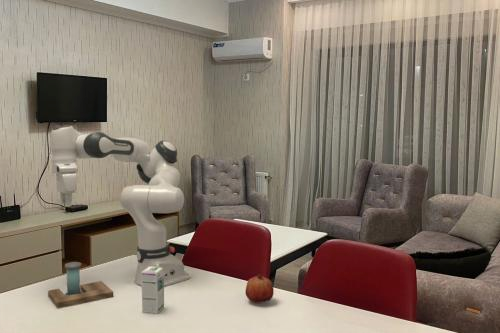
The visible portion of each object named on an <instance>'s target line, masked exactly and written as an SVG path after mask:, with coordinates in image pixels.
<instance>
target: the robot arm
mask: <svg viewBox="0 0 500 333" xmlns="http://www.w3.org/2000/svg"><path fill="white" fill-rule="evenodd" d="M50 150H51V154H52V155H51V170H52V172H51V173H52V174H55V177H56V178H55V179H56V180H55V181H56V182H55V183H56V191H57V192H59V195H60V199H61V203H62V204H65V205H67V206H72V205H73V203H72V202H73V201H72V199H73V194H74V193H76V191H77V173H78V170H79V168H78V164H77V162H78V161H77V159H78V160H79V159H104V158H106V157H108V156H110V155H112V156H111V157H113V159H114V160H115V161H119V162H123V163H136V164H137V165H136V170H137V173H138V176H139V178H140V179H141V180H142V182H144V183H146V184H133V185H128V186H125V187H124V188H123V189H122V190H121V192H120V194H119V203H120V206H121V208H122V209H123V210H125V211H126V212H127V213H128V214H129V215H130V216H131V218H132V219H133V221H134V223H135V225H136V230H137V242H138V244H137V245H138V246H137V248H136V249H137V250H136V260H137V267H136V274H135V277H134V283H135V284H137V285H140V286H142V277H141V272H142V271H144V270H145V269H147V268H148V267H162V268H163V280H164V287H167V286H170V285H173V284H177V283H180V282H185V281H187V280H190V279H191V274H190V273H189V272H188V271H186V270H185V266H184V263H183V261H182V260H180V259H178V257H176V256H175V255H173V254H172V253H174V252H175V251H176V250H175V249H176V248H175V247H174V246H170V245H167V228H166V226H165V225H164V223H162V221H159V220H157V219H156V218H155V217H154V215H153V214H171V213H176V212H178V213H179V212H180V211H181V210H182V208H183V206H184V203H185V194H184V192H183V190H181V188H180V187H178V186H179V184H180V182H181V181H180V180H181V173H180V171H179V170H178V169H177V168H176V167H175V164H176V163H177V162H178V158H177V157H178V149H177V147H176V146H175V145H174V144H173V143H171V142H170V141H167V140H160V141H158V143H156V144H155V146H154V148H152V150H151V146H150V145H149V143H148V142H146V141H145V140H143V139H140V138H135V137H127V136H125V137H123V136H122V137H116V138H114V137H110V136H109V135H107V134H106V133H104V132H100V131H97V132H96V131H95V132H90V133H83V132H82V133H81V132H79V131H78V130H76V129H75V128H74V127H73V126H72V125H70V124H67V125H66V124H65V125H59V126H56V127H53V128H52V129H51V133H50Z"/></svg>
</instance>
